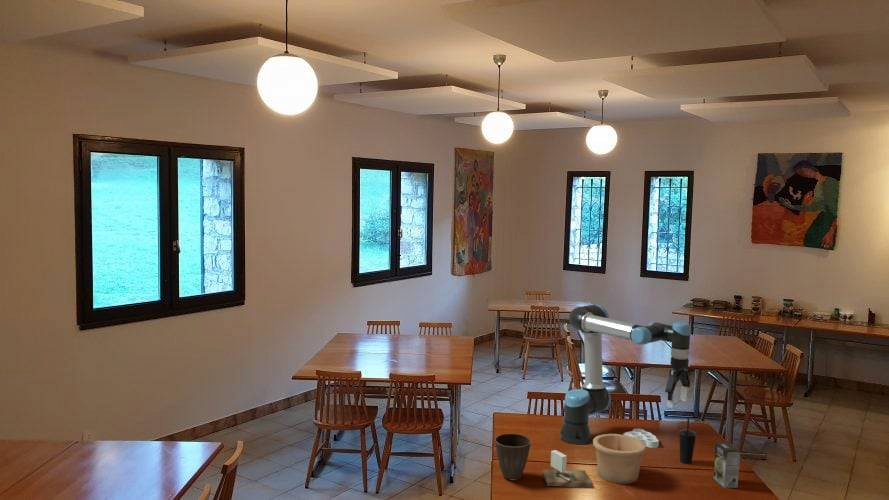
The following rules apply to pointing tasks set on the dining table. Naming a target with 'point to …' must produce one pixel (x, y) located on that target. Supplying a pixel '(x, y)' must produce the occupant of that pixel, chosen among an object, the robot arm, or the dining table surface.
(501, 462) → the plant pot
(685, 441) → the drinking cup
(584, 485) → the brown flat rectangular block
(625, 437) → the pottery
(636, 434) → the knuckle duster
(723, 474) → the coffee box
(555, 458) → the white slab
